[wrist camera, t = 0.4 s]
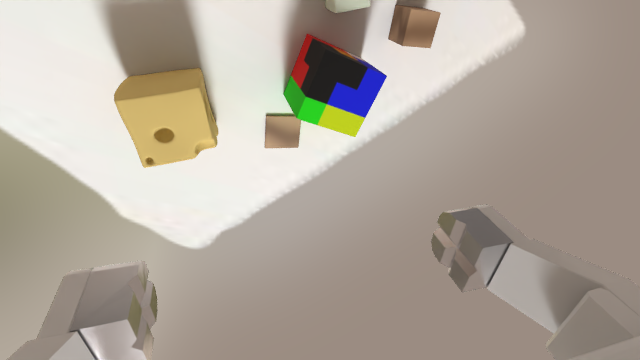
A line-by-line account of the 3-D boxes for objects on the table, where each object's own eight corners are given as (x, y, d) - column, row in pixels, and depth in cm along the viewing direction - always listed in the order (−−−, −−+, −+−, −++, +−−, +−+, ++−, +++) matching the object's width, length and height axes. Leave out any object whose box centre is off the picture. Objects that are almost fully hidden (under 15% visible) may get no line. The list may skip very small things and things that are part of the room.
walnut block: (395, 4, 51) (411, 9, 47) (422, 8, 53) (440, 12, 49) (387, 38, 54) (402, 45, 50) (414, 41, 55) (430, 48, 51)
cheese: (218, 127, 54) (220, 157, 46) (149, 138, 52) (139, 172, 44) (202, 63, 48) (201, 85, 40) (122, 72, 46) (105, 98, 38)
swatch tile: (266, 115, 55) (266, 116, 55) (300, 115, 57) (301, 116, 57) (264, 147, 58) (265, 148, 58) (297, 146, 60) (298, 147, 60)
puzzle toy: (360, 57, 54) (386, 76, 46) (334, 111, 58) (355, 137, 51) (306, 33, 50) (326, 49, 42) (283, 94, 54) (296, 118, 46)
